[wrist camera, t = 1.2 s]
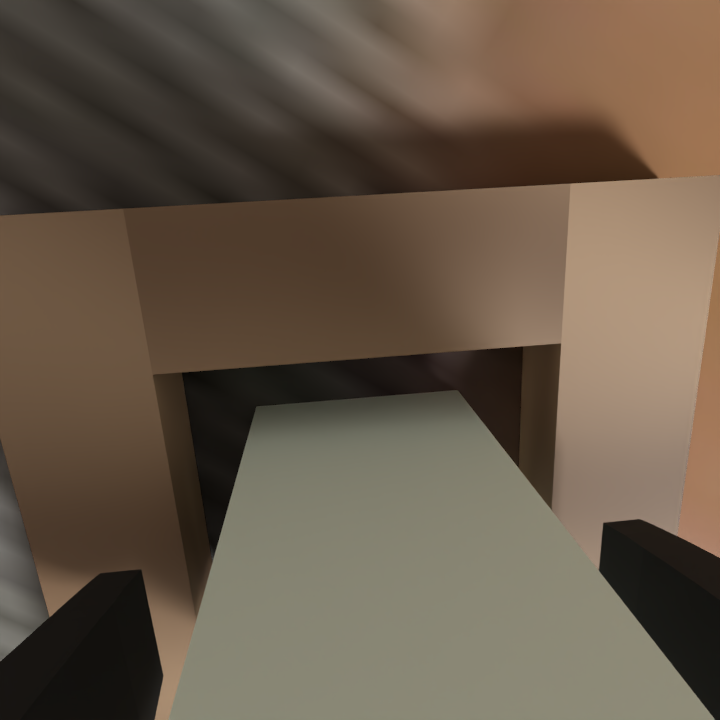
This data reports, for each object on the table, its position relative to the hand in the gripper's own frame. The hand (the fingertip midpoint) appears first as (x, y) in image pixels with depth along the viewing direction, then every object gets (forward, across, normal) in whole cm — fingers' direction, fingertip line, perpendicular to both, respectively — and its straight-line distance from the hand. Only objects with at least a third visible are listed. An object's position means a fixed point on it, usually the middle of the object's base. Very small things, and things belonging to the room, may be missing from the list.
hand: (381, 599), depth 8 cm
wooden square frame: (+3, 0, 0) cm, 3 cm away
